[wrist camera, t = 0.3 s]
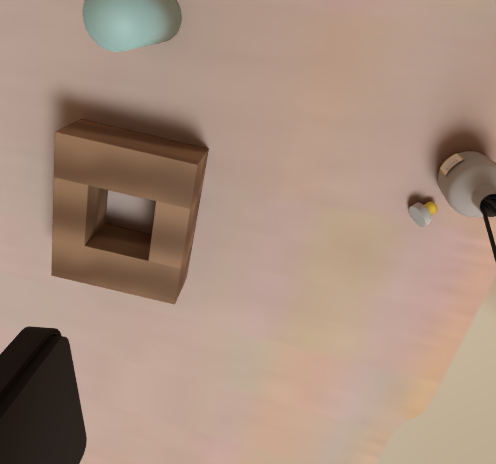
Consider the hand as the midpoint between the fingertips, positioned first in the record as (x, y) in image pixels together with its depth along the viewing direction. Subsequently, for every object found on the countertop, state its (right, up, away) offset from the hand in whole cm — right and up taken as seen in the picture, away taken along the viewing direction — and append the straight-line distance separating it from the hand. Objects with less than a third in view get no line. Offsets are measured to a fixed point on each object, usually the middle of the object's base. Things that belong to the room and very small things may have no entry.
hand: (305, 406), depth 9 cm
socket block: (-12, +6, +37) cm, 40 cm away
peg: (-8, +21, +30) cm, 38 cm away
